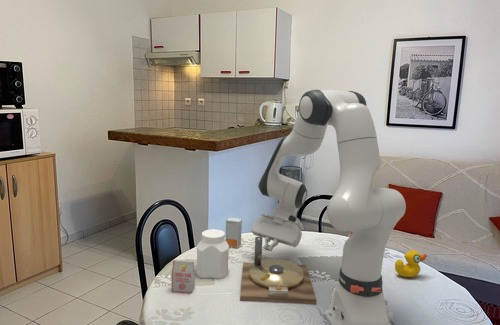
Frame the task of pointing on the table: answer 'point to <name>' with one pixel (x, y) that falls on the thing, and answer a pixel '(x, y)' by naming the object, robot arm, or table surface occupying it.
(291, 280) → the crank wheel
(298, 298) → the wooden wheel stand
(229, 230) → the skincare box
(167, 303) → the table surface
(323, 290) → the table surface
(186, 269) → the small printed food carton
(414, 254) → the duckling
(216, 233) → the jar
